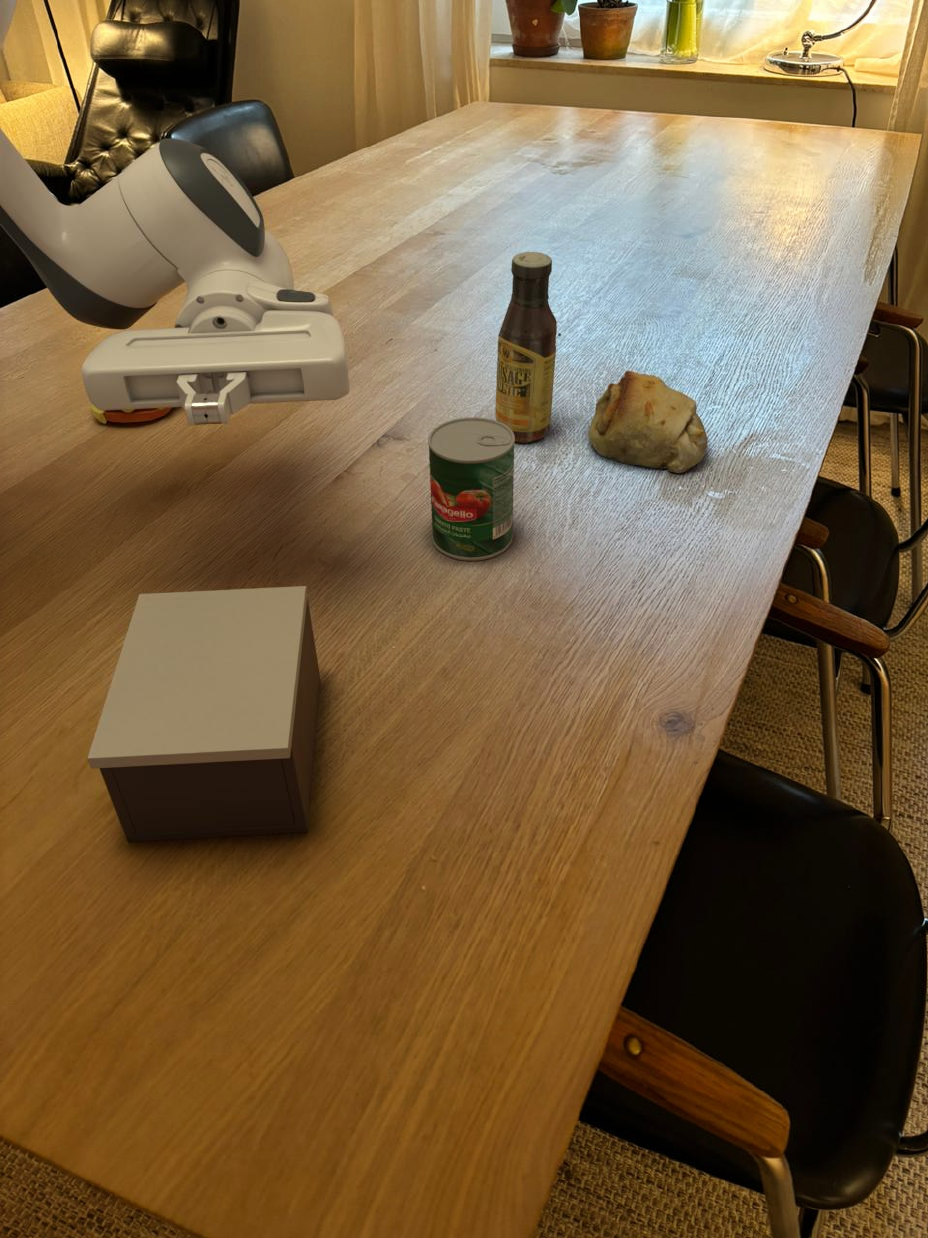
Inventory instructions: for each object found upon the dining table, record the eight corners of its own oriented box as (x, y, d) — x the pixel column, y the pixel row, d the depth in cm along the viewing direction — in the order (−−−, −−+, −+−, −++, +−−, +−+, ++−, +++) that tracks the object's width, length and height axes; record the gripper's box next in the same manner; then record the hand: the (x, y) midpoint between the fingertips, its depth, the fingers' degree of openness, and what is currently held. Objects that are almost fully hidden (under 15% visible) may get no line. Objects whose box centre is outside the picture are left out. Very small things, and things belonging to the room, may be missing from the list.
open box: (307, 832, 70) (291, 747, 64) (127, 842, 69) (94, 757, 64) (320, 679, 82) (307, 596, 76) (166, 687, 81) (142, 604, 76)
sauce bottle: (484, 430, 113) (483, 255, 100) (524, 412, 116) (528, 240, 103) (523, 452, 109) (527, 273, 96) (564, 433, 112) (573, 257, 99)
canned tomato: (426, 558, 94) (420, 457, 87) (438, 512, 100) (434, 414, 93) (509, 564, 93) (510, 462, 86) (517, 517, 99) (518, 418, 92)
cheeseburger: (73, 408, 118) (70, 324, 113) (156, 399, 125) (156, 320, 120) (112, 438, 112) (110, 351, 107) (197, 427, 119) (199, 344, 114)
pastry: (565, 427, 113) (569, 361, 108) (662, 406, 116) (670, 341, 111) (624, 489, 103) (631, 420, 98) (728, 464, 106) (740, 396, 101)
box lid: (290, 758, 63) (287, 747, 63) (90, 768, 63) (86, 758, 62) (307, 595, 76) (306, 585, 75) (142, 603, 76) (139, 593, 75)
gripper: (95, 303, 80) (49, 382, 70) (348, 292, 81) (340, 369, 70) (114, 375, 84) (74, 460, 74) (355, 364, 85) (349, 447, 74)
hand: (206, 415), depth 72 cm, fingers closed
